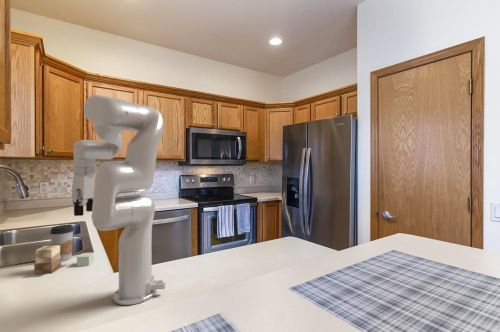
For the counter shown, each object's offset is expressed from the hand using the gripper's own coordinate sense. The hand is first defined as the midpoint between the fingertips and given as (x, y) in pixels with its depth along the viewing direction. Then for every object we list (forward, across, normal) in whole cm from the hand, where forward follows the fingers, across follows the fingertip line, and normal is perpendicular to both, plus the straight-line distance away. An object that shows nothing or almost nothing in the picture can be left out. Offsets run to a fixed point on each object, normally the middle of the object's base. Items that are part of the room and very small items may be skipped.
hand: (84, 213), depth 106 cm
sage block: (+22, 0, 0) cm, 22 cm away
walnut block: (+21, +4, -11) cm, 25 cm away
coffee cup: (+22, -8, -13) cm, 27 cm away
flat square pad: (+22, +4, -11) cm, 25 cm away
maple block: (+17, +4, -11) cm, 21 cm away
